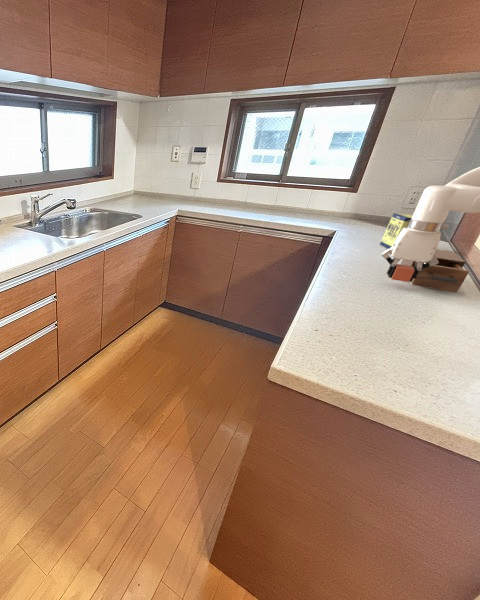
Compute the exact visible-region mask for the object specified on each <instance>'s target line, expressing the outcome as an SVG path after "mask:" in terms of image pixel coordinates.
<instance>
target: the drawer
mask: <svg viewBox="0 0 480 600" xmlns="http://www.w3.org/2000/svg"><path fill="white" fill-rule="evenodd" d="M438 262H439V263H438V264H436V265H432V266H429V267H427V268H424V269H422V270H420V271H419V272H418V274H417V276H416V278H415V279H413V280H412V281H411V285H412V286H418V287H423V288H429V289H435V290H440V291H445V292H449V293H456V294H457V293H458V291H459V290H460V288H461V287H462V285H463V283H464V282H465V280H466V279H467V277H468V276H469V273H470V270H468V269H464V268H462V267H461V266H460V265H459V264H458V263H453V262H446V261H440V260H438ZM423 263H425V262H423ZM415 264H416V263H415ZM414 267H415V265H414ZM414 267H413V268H414Z"/></svg>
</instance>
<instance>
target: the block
mask: <svg viewBox="0 0 480 600" xmlns="http://www.w3.org/2000/svg"><path fill="white" fill-rule="evenodd" d="M414 271H415V269H414V268H413V266H408V265H401V263H397V264H396V270H395V272H394V274H393V276H392V278H390V280H393V281H399V282H406V283H410V282H411V281H410V279H411V277H412V275H413V273H414Z"/></svg>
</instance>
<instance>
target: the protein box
mask: <svg viewBox="0 0 480 600" xmlns="http://www.w3.org/2000/svg"><path fill="white" fill-rule="evenodd" d="M412 216H413V214H406V213H404V214H403V213H392V216H391V218H390V219H389V223H388V224H387V227H386V230H385V232H384V234H383V236H382V238H381V240H380V245H381V246H383V247H386V248H388V249H390V248H392V246H393V244H394V242H395V240H396V239H397V237H398V235H399V234H400V232H401V231H402V229H403V228H407V227H408V225H409V223H410V221H411V218H412ZM443 223H444V224H445V223H446V220H445V221H444V222H443ZM439 232H441V230H440V231H439Z"/></svg>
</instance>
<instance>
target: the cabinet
mask: <svg viewBox="0 0 480 600" xmlns="http://www.w3.org/2000/svg"><path fill="white" fill-rule="evenodd" d="M435 255H436V258H437V260H440V261H446V262H453V263H458V264H459V265H460V266H461V267H462V268H463V267H464V266H465V264H466V261H465V260H464V259H463V258H461V257H460V256H459V255H458V254H457V253H456V252H455V251H451V250H445V249H443V250H442V249H436V252H435ZM415 263H416V261H410V260H403V259H401V263H400V264H401V265H408V266H413V267H414V265H415ZM463 269H464V268H463Z"/></svg>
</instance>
